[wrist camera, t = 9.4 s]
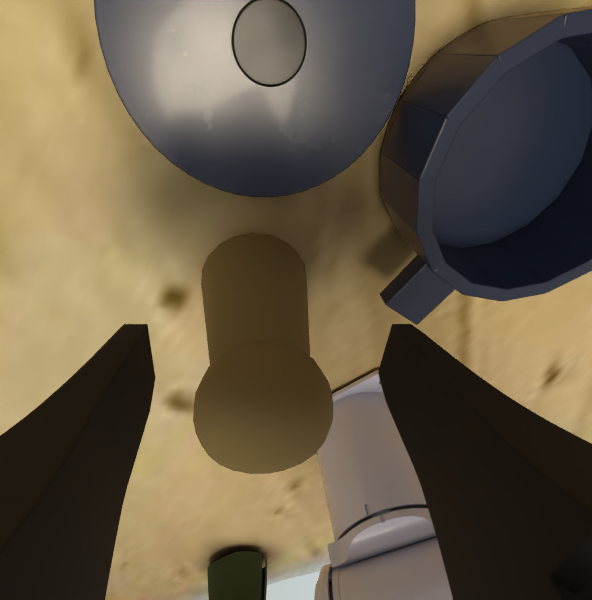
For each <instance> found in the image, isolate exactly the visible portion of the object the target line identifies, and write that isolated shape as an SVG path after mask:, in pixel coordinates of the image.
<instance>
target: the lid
mask: <svg viewBox="0 0 592 600" xmlns="http://www.w3.org/2000/svg"><path fill="white" fill-rule="evenodd" d="M94 8H95V20H96V25H97V30H98V36H99V41H100V46H101V49H102V52H103V56H104V59H105V62H106V66H107V69H108V72H109V74H110V76H111V79H112V81H113V84H114V86H115V88H116V91H117V93H118V95H119V97H120V98H121V100H122V102H123V104H124V106H125V108H126V109H127V111H128V113H129V115H130V116H131V117H132V119H133V120H134V122H135V123H136V125H137V126H138V127H139V129H140V130H141V132H142V133H143V134H144V135H145V136H146V138H147V139H148V140H149V141H150V142H151V143H152V144H153V146H154V147H155V148H156V149H157V150H158V151H159V152H160V153H162V154H163V155H164V156H165V157H166V158H167V159H168V160H169V161H170V162H171V163H173V164H174V165H176V166H177V167H178V168H180V169H181V170H182V171H184V172H185V173H187V174H188V175H190V176H192V177H194V178H195V179H197V180H199V181H201V182H202V183H205V184H207V185H209V186H212V187H214V188H217V189H219V190H222V191H226V192H229V193H233V194H237V195H244V196H250V197H277V196H286V195H290V194H294V193H298V192H302V191H305V190H308V189H310V188H313V187H316V186H318V185H320V184H322V183H324V182H326V181H328V180H329V179H331V178H333V177H335V176H336V175H337V174H339V173H340V172H342V171H343V170H344V169H346V168H347V167H348V166H350V165H351V164H352V163H353V162H354V161H355V160H356V159H357V158H358V157H360V156H361V155H362V153H363V152H364V151H365V150H366V149H367V148H368V147H369V146H370V144H371V143H372V142H373V141H374V140H375V138H376V137H377V135H378V134H379V132H380V131H381V129H382V128H383V127H384V125H385V123H386V122H387V120H388V118H389V116H390V114H391V112H392V111H393V109H394V107H395V104H396V102H397V100H398V97H399V95H400V92H401V90H402V88H403V84H404V81H405V78H406V74H407V71H408V68H409V63H410V58H411V53H412V48H413V41H414V30H415V0H94Z"/></svg>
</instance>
